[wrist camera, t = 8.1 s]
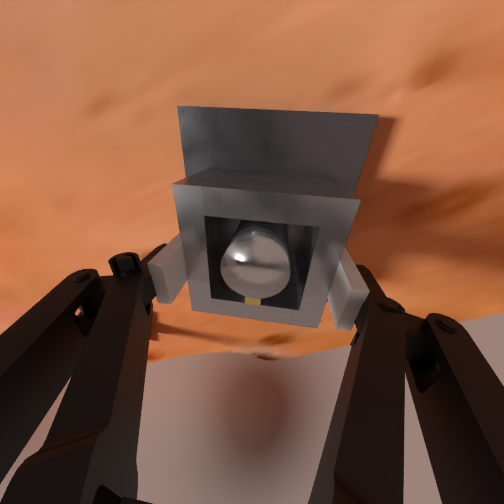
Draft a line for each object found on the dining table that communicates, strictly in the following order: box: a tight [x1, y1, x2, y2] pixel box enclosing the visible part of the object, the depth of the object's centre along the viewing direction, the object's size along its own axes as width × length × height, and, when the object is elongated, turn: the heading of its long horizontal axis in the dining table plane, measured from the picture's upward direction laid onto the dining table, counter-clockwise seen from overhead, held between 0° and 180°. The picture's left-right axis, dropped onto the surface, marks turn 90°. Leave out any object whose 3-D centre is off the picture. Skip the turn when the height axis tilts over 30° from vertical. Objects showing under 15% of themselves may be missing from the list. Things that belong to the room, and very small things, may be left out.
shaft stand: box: [177, 106, 379, 306], centre depth 14 cm, size 16×12×7 cm
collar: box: [172, 169, 361, 328], centre depth 14 cm, size 9×9×5 cm
